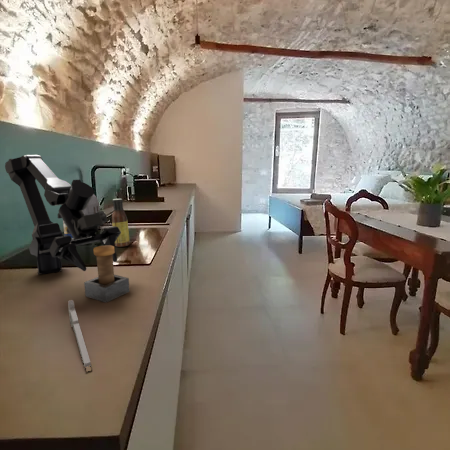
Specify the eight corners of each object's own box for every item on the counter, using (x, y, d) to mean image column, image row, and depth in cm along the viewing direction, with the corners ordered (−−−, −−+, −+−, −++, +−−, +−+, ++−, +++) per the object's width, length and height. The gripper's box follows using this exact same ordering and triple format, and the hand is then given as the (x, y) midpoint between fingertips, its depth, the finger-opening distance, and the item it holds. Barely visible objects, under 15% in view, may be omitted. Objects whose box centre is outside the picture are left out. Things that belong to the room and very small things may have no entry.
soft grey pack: (91, 225, 181) (88, 189, 177) (105, 225, 180) (102, 189, 176) (75, 231, 167) (71, 192, 163) (90, 231, 166) (87, 192, 162)
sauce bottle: (132, 244, 140) (129, 198, 136) (123, 248, 134) (120, 200, 130) (120, 243, 142) (116, 197, 138) (110, 246, 136) (106, 199, 132)
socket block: (106, 302, 83) (104, 287, 82) (85, 296, 87) (84, 282, 86) (129, 291, 90) (128, 277, 89) (109, 286, 94) (108, 273, 93)
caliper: (69, 324, 73) (66, 298, 71) (75, 323, 73) (72, 297, 72) (86, 374, 56) (82, 341, 54) (92, 372, 56) (89, 339, 55)
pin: (96, 298, 85) (91, 251, 83) (99, 291, 90) (95, 245, 88) (116, 296, 86) (113, 249, 84) (118, 289, 91) (115, 244, 89)
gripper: (49, 206, 80) (77, 257, 76) (115, 199, 95) (141, 241, 91) (38, 233, 87) (64, 281, 82) (101, 222, 101) (125, 262, 97)
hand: (101, 265), depth 88 cm, fingers open, 9 cm apart
